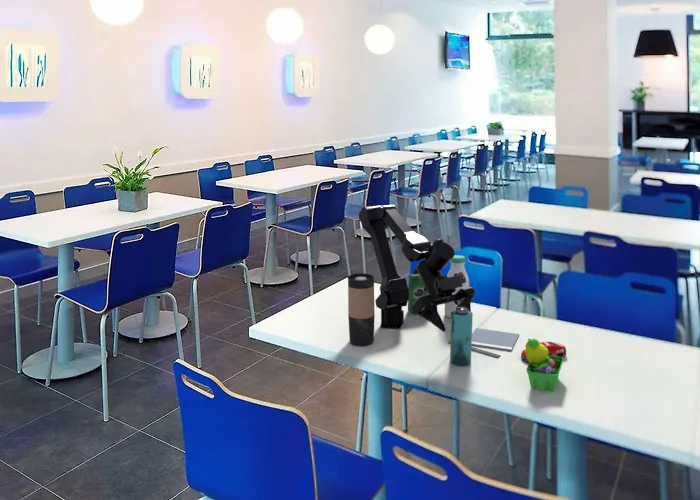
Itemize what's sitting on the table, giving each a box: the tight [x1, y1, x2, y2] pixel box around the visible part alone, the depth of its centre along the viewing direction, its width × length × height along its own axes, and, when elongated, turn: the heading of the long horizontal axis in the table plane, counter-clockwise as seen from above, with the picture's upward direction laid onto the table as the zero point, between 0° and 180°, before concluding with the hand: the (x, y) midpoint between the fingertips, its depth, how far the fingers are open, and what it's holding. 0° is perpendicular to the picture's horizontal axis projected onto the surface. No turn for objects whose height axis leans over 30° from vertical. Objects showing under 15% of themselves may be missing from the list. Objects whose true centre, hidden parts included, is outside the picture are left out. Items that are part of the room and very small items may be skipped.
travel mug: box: [347, 273, 376, 348], centre depth 179 cm, size 8×8×20 cm
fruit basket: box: [525, 338, 565, 392], centre depth 153 cm, size 11×9×11 cm
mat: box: [472, 327, 520, 352], centre depth 181 cm, size 13×13×1 cm
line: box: [448, 341, 501, 359], centre depth 174 cm, size 16×2×1 cm, turn 47°
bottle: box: [449, 307, 474, 367], centre depth 164 cm, size 6×6×15 cm
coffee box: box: [407, 273, 429, 314], centre depth 204 cm, size 8×3×13 cm, turn 107°
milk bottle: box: [444, 254, 470, 319], centre depth 199 cm, size 8×8×20 cm
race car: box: [520, 341, 567, 363], centre depth 168 cm, size 13×5×4 cm, turn 108°
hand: (458, 327), depth 165 cm, fingers open, 9 cm apart
